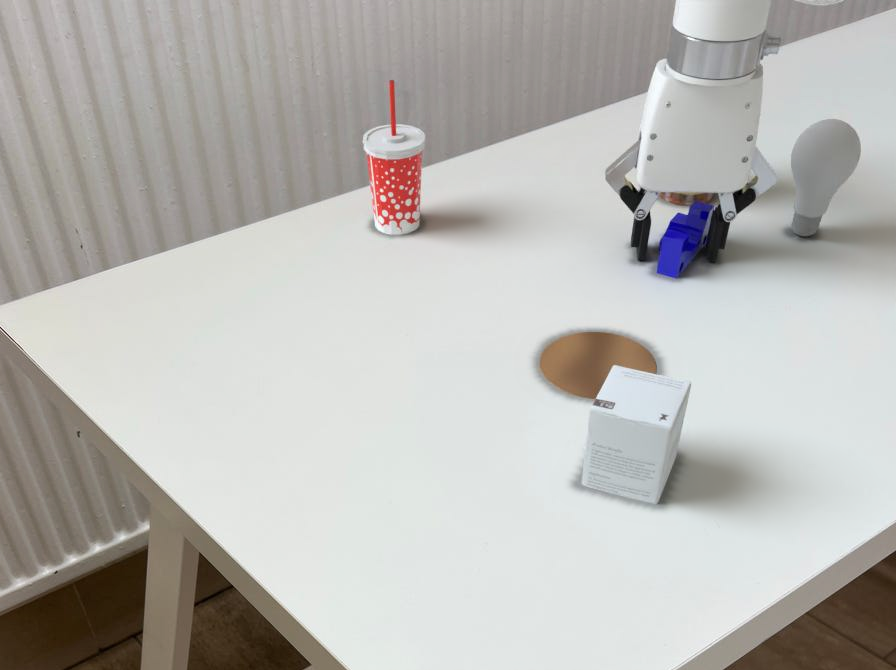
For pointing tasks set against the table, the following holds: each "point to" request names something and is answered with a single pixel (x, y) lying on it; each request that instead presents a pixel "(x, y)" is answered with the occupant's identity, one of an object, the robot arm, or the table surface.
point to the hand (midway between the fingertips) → (675, 252)
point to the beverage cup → (395, 173)
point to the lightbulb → (821, 170)
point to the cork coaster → (591, 361)
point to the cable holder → (684, 239)
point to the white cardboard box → (634, 433)
